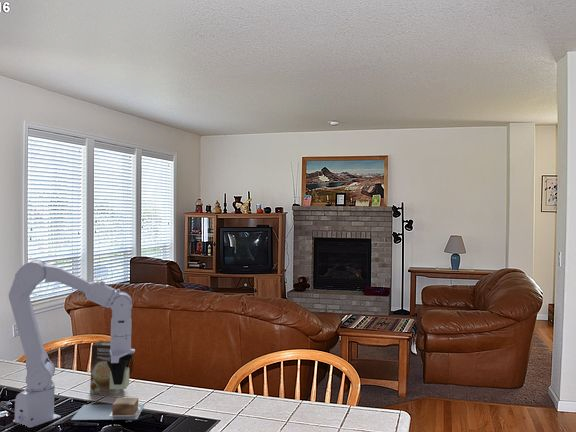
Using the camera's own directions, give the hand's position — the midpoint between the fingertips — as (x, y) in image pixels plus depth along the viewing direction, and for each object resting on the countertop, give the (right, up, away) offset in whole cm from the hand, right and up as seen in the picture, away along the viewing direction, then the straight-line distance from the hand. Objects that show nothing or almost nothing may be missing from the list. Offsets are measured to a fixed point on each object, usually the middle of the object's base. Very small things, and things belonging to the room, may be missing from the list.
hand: (120, 381), depth 151 cm
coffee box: (-10, -9, +17) cm, 22 cm away
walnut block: (+2, -9, 0) cm, 9 cm away
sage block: (0, -1, 0) cm, 1 cm away
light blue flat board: (-3, -9, 0) cm, 9 cm away
